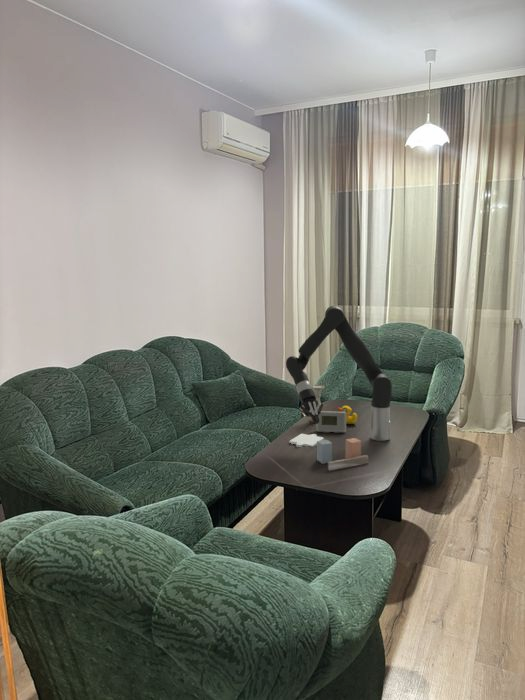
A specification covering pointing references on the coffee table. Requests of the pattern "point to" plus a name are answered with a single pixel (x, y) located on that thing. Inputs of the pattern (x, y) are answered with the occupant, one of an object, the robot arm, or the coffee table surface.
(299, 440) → the mounting plate
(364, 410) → the coffee table surface
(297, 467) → the coffee table surface
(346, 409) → the duckling
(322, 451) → the grey blue rectangular block
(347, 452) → the reddish brown block
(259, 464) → the coffee table surface
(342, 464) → the wooden tray
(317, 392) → the candle holder
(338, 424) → the digital clock
